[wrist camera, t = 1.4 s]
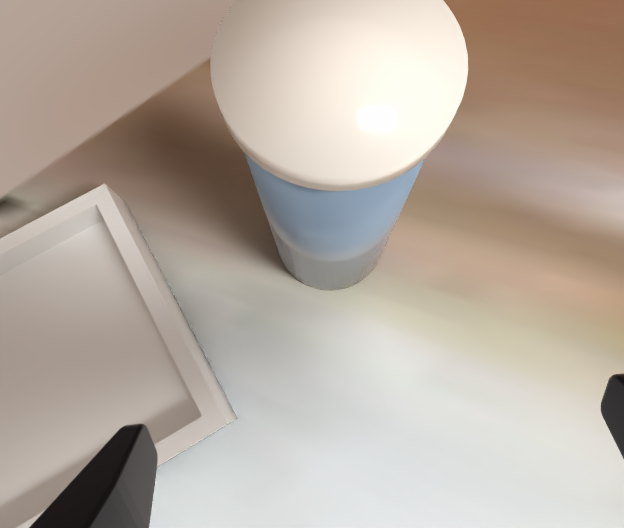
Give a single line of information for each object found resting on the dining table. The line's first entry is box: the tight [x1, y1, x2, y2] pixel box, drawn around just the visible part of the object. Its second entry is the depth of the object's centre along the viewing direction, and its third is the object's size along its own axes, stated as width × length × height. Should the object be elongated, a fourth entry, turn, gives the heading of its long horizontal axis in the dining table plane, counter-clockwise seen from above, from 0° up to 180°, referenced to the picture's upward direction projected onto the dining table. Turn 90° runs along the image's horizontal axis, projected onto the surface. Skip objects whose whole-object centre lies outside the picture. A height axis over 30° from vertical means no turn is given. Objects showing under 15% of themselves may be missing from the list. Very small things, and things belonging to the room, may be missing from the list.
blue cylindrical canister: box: [211, 0, 468, 290], centre depth 17 cm, size 6×6×14 cm
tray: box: [0, 184, 237, 528], centre depth 21 cm, size 13×13×2 cm
